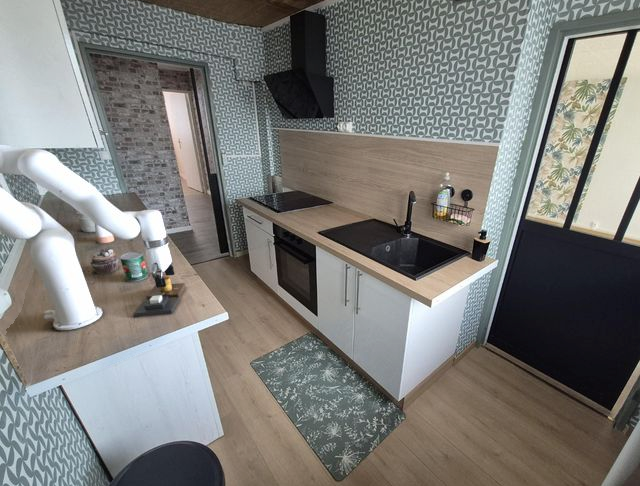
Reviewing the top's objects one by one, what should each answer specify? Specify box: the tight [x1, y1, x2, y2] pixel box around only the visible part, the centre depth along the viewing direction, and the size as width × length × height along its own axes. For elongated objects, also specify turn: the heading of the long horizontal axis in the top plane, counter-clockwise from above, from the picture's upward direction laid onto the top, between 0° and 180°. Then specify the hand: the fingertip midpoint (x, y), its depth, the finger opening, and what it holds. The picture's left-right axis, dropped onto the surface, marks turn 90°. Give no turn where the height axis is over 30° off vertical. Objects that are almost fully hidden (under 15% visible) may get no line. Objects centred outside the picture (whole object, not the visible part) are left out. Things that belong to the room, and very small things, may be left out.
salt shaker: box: [94, 223, 115, 244], centre depth 163 cm, size 7×7×19 cm
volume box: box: [145, 282, 187, 300], centre depth 120 cm, size 11×9×3 cm
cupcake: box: [90, 248, 119, 275], centre depth 134 cm, size 10×10×10 cm
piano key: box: [149, 295, 162, 304], centre depth 110 cm, size 3×3×2 cm
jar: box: [75, 210, 96, 233], centre depth 179 cm, size 13×13×18 cm
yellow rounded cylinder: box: [160, 275, 172, 292], centre depth 118 cm, size 4×4×5 cm
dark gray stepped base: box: [133, 296, 181, 318], centre depth 110 cm, size 12×9×4 cm
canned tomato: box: [119, 251, 149, 283], centre depth 129 cm, size 8×8×11 cm
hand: (166, 280), depth 118 cm, fingers open, 9 cm apart
